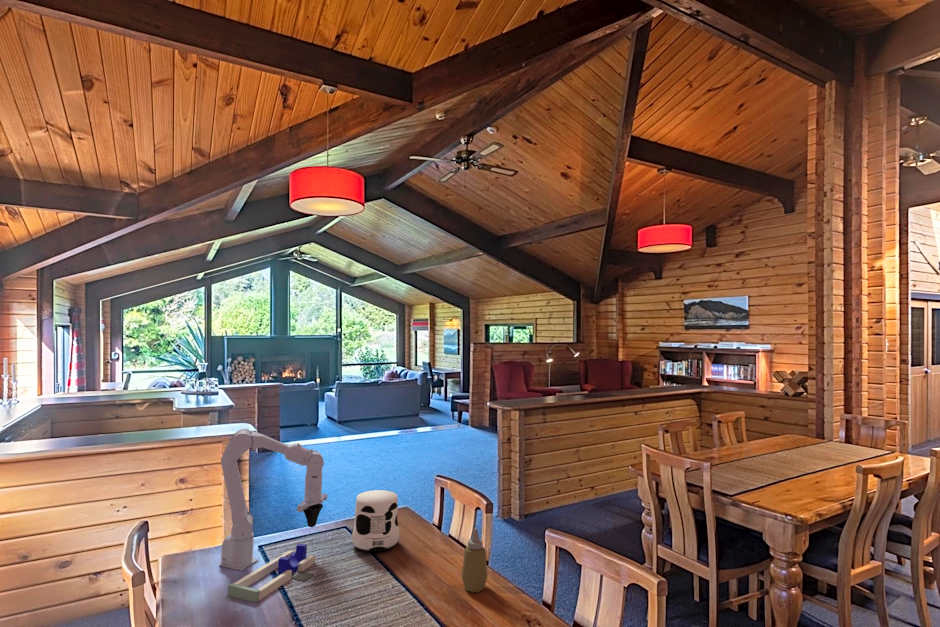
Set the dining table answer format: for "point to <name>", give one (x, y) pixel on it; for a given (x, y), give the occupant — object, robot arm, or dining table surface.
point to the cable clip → (292, 559)
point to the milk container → (375, 521)
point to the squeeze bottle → (474, 564)
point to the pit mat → (303, 576)
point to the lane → (254, 595)
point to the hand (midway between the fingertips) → (311, 526)
